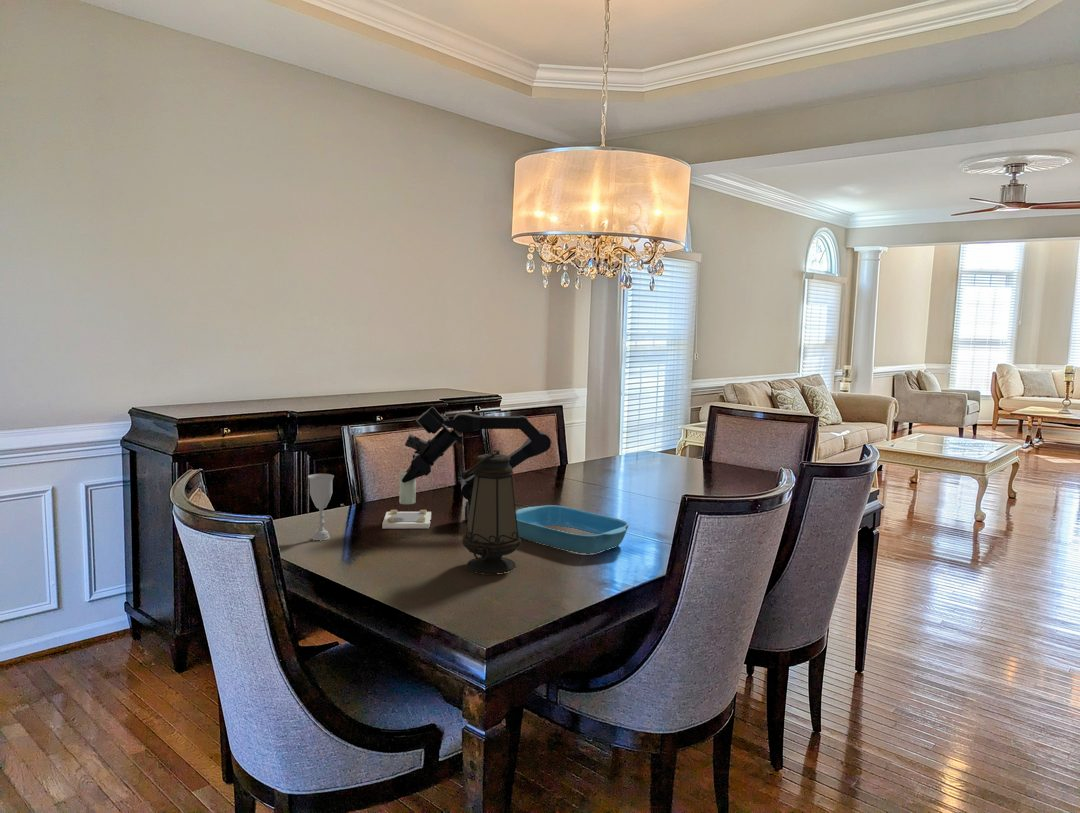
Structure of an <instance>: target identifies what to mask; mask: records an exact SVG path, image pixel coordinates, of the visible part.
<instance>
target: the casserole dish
mask: <svg viewBox="0 0 1080 813" xmlns="http://www.w3.org/2000/svg"><path fill="white" fill-rule="evenodd" d="M516 518H517V527H518V534H519V537H520V538H521V537H522V538H521V539H523V538H524V539H523V540H525V539H527V540H530V541H534V542H538V543H541V544H545V545H548V546H552V547H556V548H560V549H564V550H568V551H573V552H578V553H586V554H590V553H597V552H600V551H603V550H607V549H609V548H612V547H615V546H616V547H618V546H619V545H620V544H621V543H623V540H624V538H625V536H626V534H627V531H628V528H629V525H630V524H629V522H628V521H626V520H624V519H619V518H617V517H612V516H608V515H604V514H599V513H595V512H590V511H587V510H582V509H578V508H573V507H569V506H562V505H555V504H554V505H553V504H547V505H540V506H539V505H538V506H528V507H524V508H520V509H519V508H518V509H516ZM545 526H550V527H551V526H560V527H567V528H568V527H569V528H574V529H578V530H582V531H586V532H590V533H594V534H598V535H579V534H573V533H568V532H564V531H560V530H555V529H551V528H547V527H545ZM527 540H526V541H527ZM530 541H529V542H530ZM534 542H533V543H534ZM617 545H618V546H617ZM616 547H615V548H616Z"/></svg>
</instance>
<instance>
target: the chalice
mask: <svg viewBox="0 0 1080 813" xmlns="http://www.w3.org/2000/svg"><path fill="white" fill-rule="evenodd" d="M334 477H335V475H334V474H332V473H331V474H330V473H314V474H309V475H307V478H308V480H309V496H310V497H311V500H312V502H313V504H314V506H315V508H316V509H318V510H319V513H318V515H317V516H318V518H319V520H318V521H317V523H318V524H319V526H318V529H317V530H316V531H315V532H314V534H313V537H312V538H311V540H312V539H314V540H320V541H319V542H323V541H322V540H327V539H329V538H331V536H330V533H329V532H328V530H327V529H325V528H324V524H325V520H324V517H325V514H324V509H326V508H327V507H328V504H329V503H330V501H331V499H332V498H331V497H332V495H333V481H334ZM314 540H313V541H314ZM329 540H330V539H329ZM327 541H328V540H327Z"/></svg>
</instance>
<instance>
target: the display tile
mask: <svg viewBox="0 0 1080 813" xmlns="http://www.w3.org/2000/svg"><path fill="white" fill-rule="evenodd" d="M430 520H432V511H427V509H420V510H419V511H398V509H390V511H386V512H385V516H384V518H383V521H382V523H381V524H382V528H381V529H430V528H429V527H430V525H431V521H430Z"/></svg>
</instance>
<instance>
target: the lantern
mask: <svg viewBox="0 0 1080 813" xmlns="http://www.w3.org/2000/svg"><path fill="white" fill-rule="evenodd" d="M500 452H501V450H500V449H496V450H493V451H492V452H489V453H485V454H480V455H478V456H477V457H476V460H477V461H478V462H477V463H475V464H474V465H472V466H471V467H470V468H469V469H466V470H464V471H462V472H461V473H460V477H461V479H463V480H465V479H467V478H469V477H471V476H473V475H474V474H475V476H474V483H473V489H472V496H471V502H470V508H469V515H468V521H467V523H466V529H465V534H464V536H463V537H462V545H463V547H465V549H467V551H469V552H470V553H472V554H473V556H474V558H472V559H470V560H468V562H467V563H466V566H467V568H468V569H469V570H471V571H473V572H477V573H484V574H497V573H504V572H508V571H511V570H513V569H514V568H515V567H516V568H517V565H516V562H515V561H513V560H512V559H510V558H507V557H503V556H507V555H510V554H513V553H514V552H515V551H516V550H517V549H519V548H520V546H521V544H522V538H521V537H520V536H519V534H518V527H517V518H516V510H517V508H516V500H515V493H514V483H513V482H514V481H513V474H514V471H513V469H514V468H513V469H512V467H511V466H510V465H509V461H510V460H511V459H510V457H509V456H508V455H506V454H502V453H500ZM478 556H480V557H478ZM466 566H465V567H466ZM467 568H466V569H467ZM468 569H467V570H468ZM469 570H468V571H469ZM471 571H470V572H471ZM473 572H472V573H473ZM477 573H476V574H477Z"/></svg>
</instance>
